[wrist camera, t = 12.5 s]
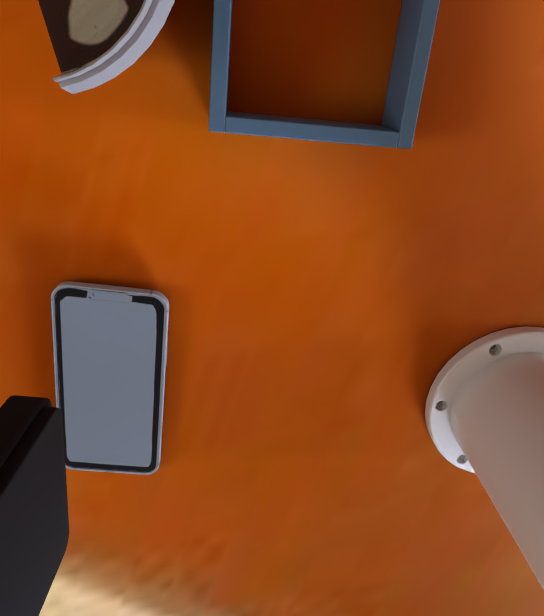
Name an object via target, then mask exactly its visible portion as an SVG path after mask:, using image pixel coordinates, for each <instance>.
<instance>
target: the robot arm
mask: <svg viewBox="0 0 544 616" xmlns="http://www.w3.org/2000/svg"><path fill="white" fill-rule="evenodd" d="M425 418H426V425H427V429H428V431H429V434H430V436H431V439H432V440H433V442H434V444H435V446H436V447H437V449H438V451H439V452H440V453H441V454H442V455H443V456H444V457H445V458H446V459H447V460H448V461H449V462H451V463H452V464H454V465H455V466H457V467H459V468H461V469H464V470H466V471H469V472H473V473H476V475H477V477H478V478H479V480H480V482H481V484H482V485H483V487H484V489H485V490H486V492H487V494H488V495H489V497H490V499H491V501H492V502H493V504H494V506H495V507H496V509H497V511H498V513H499V514H500V516H501V518H502V519H503V521H504V523H505V525H506V526H507V528H508V530H509V531H510V533H511V535H512V536H513V538H514V540H515V542H516V543H517V545H518V547H519V548H520V550H521V552H522V554H523V555H524V557H525V559H526V560H527V562H528V564H529V566H530V567H531V569H532V571H533V572H534V574H535V576H536V578H537V579H538V581H539V583H540V584H541V586H542V588H543V589H544V328H542V327H527V326H524V327H515V328H507V329H504V330H500V331H497V332H493V333H490V334H488V335H486V336H484V337H482V338H479V339H477V340H475V341H474V342H472V343H470V344H469V345H467V346H466V347H464V348H463V349H461V350H460V351H459V352H458V353H457V354H456V355H454V356H453V357H452V358H451V359H450V360H449V361H448V362H447V363H446V364H445V366H444V367H443V368H442V369H441V371H440V372H439V373H438V375H437V376H436V378H435V380H434V382H433V384H432V386H431V388H430V391H429V394H428V397H427V400H426V409H425ZM68 537H69V519H68V502H67V485H66V468H65V450H64V433H63V416H62V411H61V409H60V408H56V407H52V404H51V401H50V399H48V398H41V397H28V396H15V395H14V396H11V397H9V398H8V399H7V400H6V402H5V403H4V404H3V405H2V407H1V408H0V616H39V613H40V611H41V609H42V606H43V604H44V601H45V599H46V597H47V594H48V592H49V589H50V587H51V585H52V582H53V580H54V578H55V575H56V573H57V570H58V568H59V566H60V563H61V561H62V558H63V556H64V553H65V551H66V547H67V543H68Z"/></svg>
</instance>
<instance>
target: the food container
mask: <svg viewBox="0 0 544 616" xmlns="http://www.w3.org/2000/svg"><path fill="white" fill-rule="evenodd" d="M38 1H39V4H40V7H41V10H42V14H43V17H44V20H45V23H46V26H47V29H48V33H49V36H50V39H51V42H52V45H53V48H54V51H55V55H56V58H57V61H58V64H59V67H60V70H61V73H63V74H61V75H59V76H57V77H55V78H52V80H53V81H57V82H59V85H60V88H62V89H64V90H66V91H68V92H70V93H72V94H75V93H78V92H82V91H85V90H88V89H92V88H95V87H97V86H99V85H101V84H103V83H105V82H107V81H109V80H111V79H113V78H115V77H116V76H118V75H119V74H120V73H122V72H123V71H124V70H126V69H127V68H128V67H130V66H131V65H132V64H134V63H135V61H136V60H137V59H138V58H139V57H140V56H141V55H142V54H143V53H144V52H145V51H146V50H147V49H148V48H149V47H150V45H151V44H152V42H153V41H154V39H155V38H156V36H157V35H158V33H159V32H160V30H161V29H162V27H163V26H164V24H165V22H166V19H167V17H168V15H169V13H170V10H171V8H172V6H173V4H174V2H175V0H38Z"/></svg>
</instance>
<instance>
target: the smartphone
mask: <svg viewBox="0 0 544 616" xmlns="http://www.w3.org/2000/svg"><path fill="white" fill-rule="evenodd" d="M51 311H52V331H53V351H54V371H55V391H56V408H60V409H61V411H62V416H63V433H64V450H65V467H66V468H69V469H73V470H85V471H100V472H114V473H129V474H143V475H148V474H152V473H154V472H155V471H157V469H158V468H159V464H160V459H161V441H162V424H163V406H164V389H165V371H166V362H167V336H168V319H169V302H168V299H167V298H166V296H165V295H164V294H162V293H161V292H159V291H156V290H149V289H140V288H130V287H120V286H111V285H101V284H92V283H82V282H73V281H66V282H62V283H60V284H59V285H58V286H57V287H56V288H55V289H54V291H53V292H52V294H51Z"/></svg>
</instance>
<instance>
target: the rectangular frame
mask: <svg viewBox="0 0 544 616" xmlns="http://www.w3.org/2000/svg"><path fill="white" fill-rule="evenodd" d="M439 4H440V0H402V6H401V12H400V18H399V24H398V30H397V36H396V42H395V48H394V54H393V60H392V66H391V72H390V78H389V84H388V90H387V96H386V101H385V107H384V113H383V119H382V125H373V124H362V123H352V122H341V121H330V120H319V119H309V118H298V117H287V116H276V115H266V114H255V113H244V112H233V111H228V112H227V106H228V87H229V68H230V48H231V29H232V10H233V0H214V9H213V34H212V60H211V85H210V111H209V131H211V132H222V133H224V132H225V133H234V134H245V135H256V136H267V137H278V138H290V139H301V140H312V141H323V142H334V143H346V144H357V145H368V146H379V147H390V148H402V149H411V148H412V144H413V139H414V134H415V128H416V123H417V118H418V113H419V108H420V103H421V97H422V92H423V87H424V82H425V77H426V71H427V66H428V61H429V56H430V51H431V45H432V40H433V35H434V30H435V25H436V19H437V14H438V9H439Z"/></svg>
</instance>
